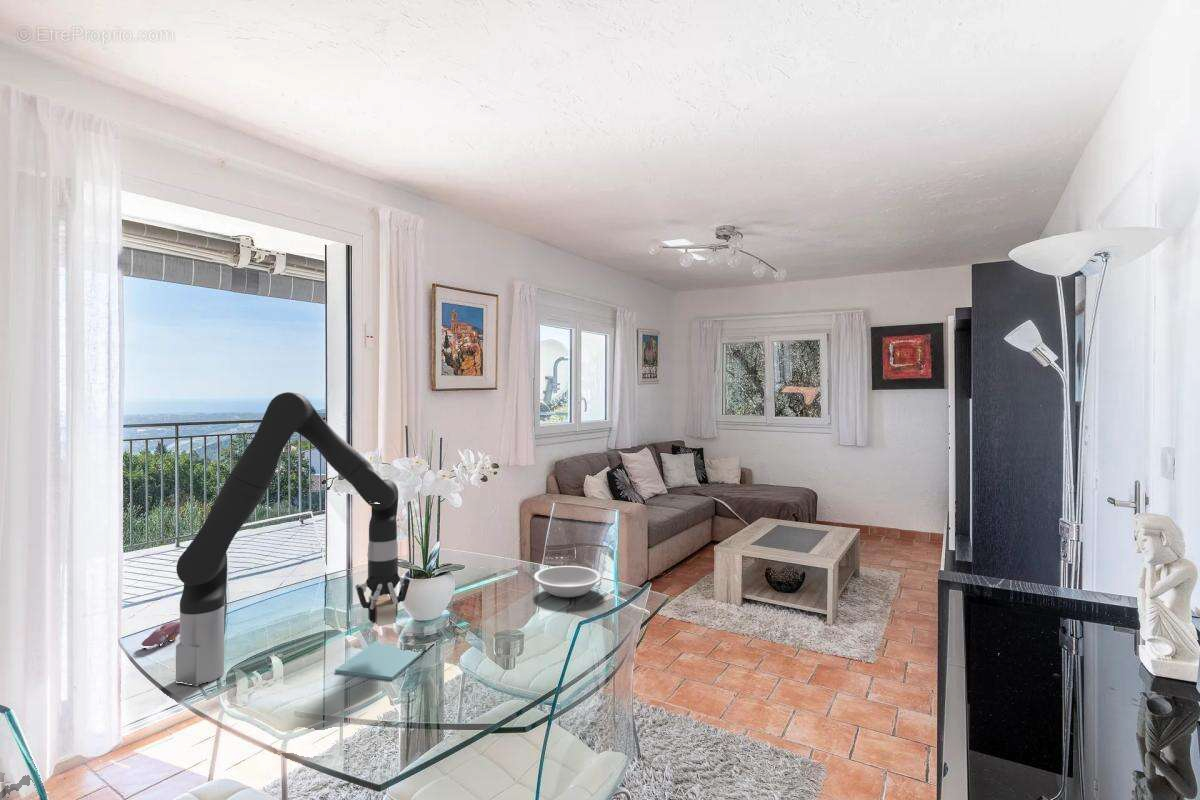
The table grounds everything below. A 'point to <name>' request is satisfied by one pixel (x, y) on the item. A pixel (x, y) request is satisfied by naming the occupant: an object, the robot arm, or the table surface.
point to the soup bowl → (567, 580)
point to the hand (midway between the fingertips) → (383, 619)
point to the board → (379, 661)
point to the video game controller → (163, 634)
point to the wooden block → (385, 611)
